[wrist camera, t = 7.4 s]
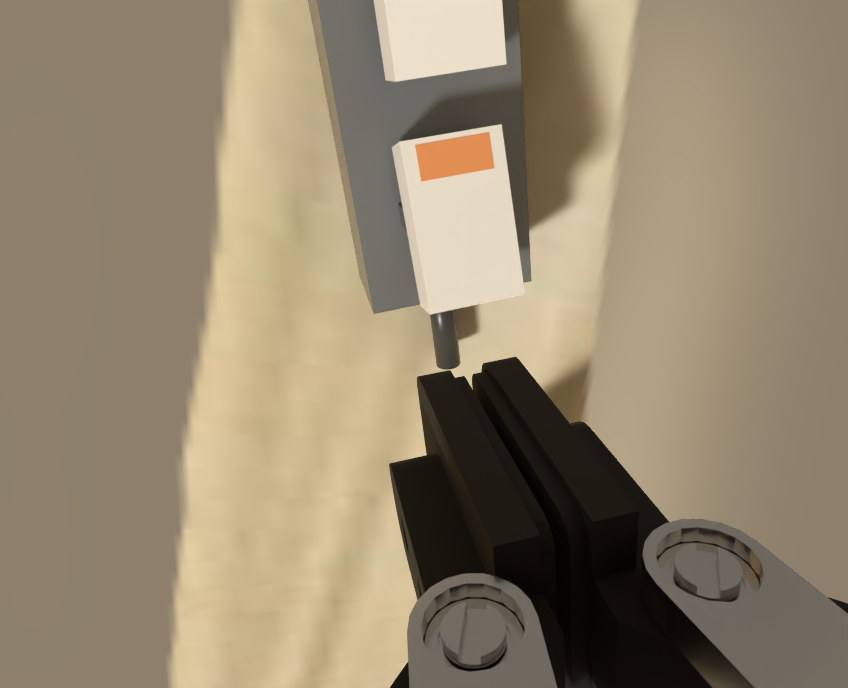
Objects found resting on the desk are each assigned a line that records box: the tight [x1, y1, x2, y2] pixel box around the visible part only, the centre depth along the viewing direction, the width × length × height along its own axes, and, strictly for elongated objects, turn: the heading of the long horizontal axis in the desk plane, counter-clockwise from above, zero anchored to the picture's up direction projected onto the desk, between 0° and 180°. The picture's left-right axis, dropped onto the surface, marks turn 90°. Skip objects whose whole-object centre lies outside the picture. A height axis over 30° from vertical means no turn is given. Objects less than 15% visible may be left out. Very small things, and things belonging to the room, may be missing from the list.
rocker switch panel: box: [308, 0, 531, 369], centre depth 25 cm, size 21×7×5 cm, turn 7°
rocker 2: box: [392, 124, 525, 314], centre depth 23 cm, size 6×4×2 cm, turn 7°
